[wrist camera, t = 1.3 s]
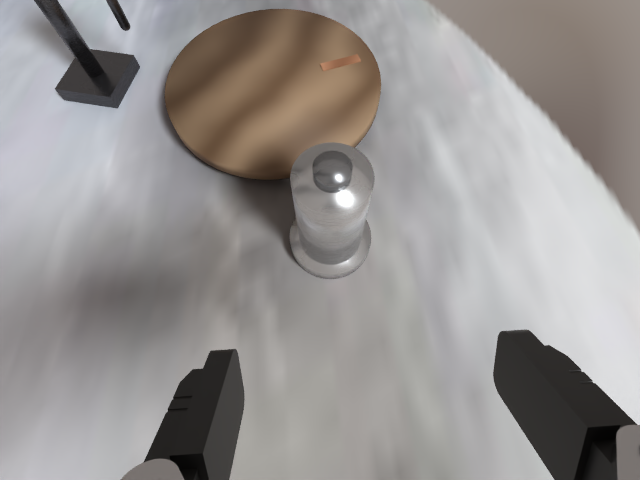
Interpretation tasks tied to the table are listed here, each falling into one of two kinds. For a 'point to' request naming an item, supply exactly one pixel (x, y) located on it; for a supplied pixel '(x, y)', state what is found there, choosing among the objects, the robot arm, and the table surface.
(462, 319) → the table surface
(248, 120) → the disc
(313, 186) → the cover
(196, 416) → the robot arm
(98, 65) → the stand
